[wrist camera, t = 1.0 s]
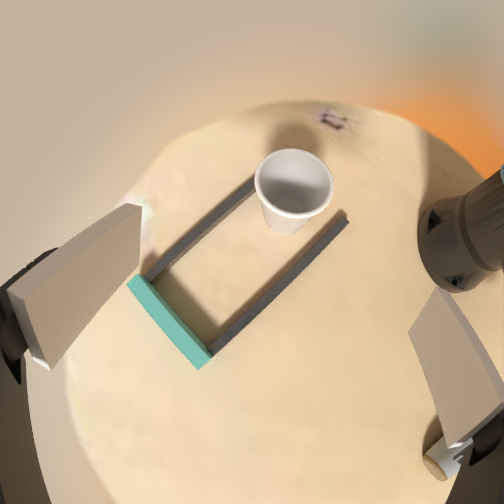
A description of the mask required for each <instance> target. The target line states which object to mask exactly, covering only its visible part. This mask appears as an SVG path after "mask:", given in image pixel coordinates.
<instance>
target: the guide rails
mask: <svg viewBox="0 0 504 504" xmlns="http://www.w3.org/2000/svg"><path fill="white" fill-rule="evenodd" d="M255 192H256V188H255V177H254V178H253V179H251V180H250V181H249V182H248V183H247V184H245V185H244V186H243V187H242V188H241V189H239V190H238V191H237V192H236V193H235V194H234V195H232V196H231V197H230V198H229V199H228V200H226V201H225V202H224V203H223V204H222V205H221V206H220V207H218V208H217V209H216V210H215V211H214V212H213V213H211V214H210V215H209V216H208V217H207V218H206V219H205V220H203V221H202V222H201V223H200V224H199V225H198V226H197V227H196V228H195V229H193V230H192V231H191V232H190V233H189V234H188V235H187V236H186V237H185V238H183V239H182V240H181V241H180V242H179V243H178V244H177V245H176V246H175V247H174V248H173V249H171V250H170V251H169V252H168V253H167V254H166V255H165V256H164V257H163V258H162V259H161V260H160V261H159V262H158V263H156V264H155V265H154V266H153V267H152V268H151V269H150V270H149V271H148V272H147V273H146V274H145V275H144V276H143V277H144V278H145V279H146V281H147V282H148V283H149V284H152V285H153V284H154V283H155V282H156V281H157V280H158V279H159V278H160V277H161V276H162V275H163V274H164V273H165V272H166V271H167V270H169V269H170V268H171V267H172V266H173V265H174V264H175V263H176V262H177V261H178V260H179V259H180V258H181V257H183V256H184V255H185V254H186V253H187V252H188V251H189V250H190V249H191V248H192V247H193V246H194V245H196V244H197V243H198V242H199V241H200V240H201V239H202V238H203V237H204V236H206V235H207V234H208V233H209V232H210V231H211V230H212V229H213V228H214V227H216V226H217V225H218V224H219V223H220V222H221V221H222V220H223V219H225V218H226V217H227V216H228V215H229V214H230V213H231V212H233V211H234V210H235V209H236V208H237V207H238V206H239V205H241V204H242V203H243V202H244V201H245V200H246V199H248V198H249V197H250V196H251V195H252V194H253V193H255ZM348 223H349V221H348V220H347V219H346V218H344V217H343V216H342V218H341V219H340V220H339V221H338V222H337V223H336V224H335V225H334V226H333V227H332V228H331V229H330V230H329V231H328V232H327V233H326V234H325V235H324V236H323V237H322V238H321V239H320V240H319V241H318V242H317V243H316V244H315V245H314V246H313V247H312V248H311V249H310V250H309V251H308V252H307V253H306V254H305V255H304V256H303V257H302V258H301V259H300V260H299V261H298V262H297V263H296V264H295V265H294V266H293V267H292V268H291V269H290V270H289V271H288V272H287V273H286V274H285V275H284V276H283V277H282V278H281V279H280V280H279V281H278V282H277V283H276V284H275V285H274V286H273V287H272V288H271V289H270V290H269V291H268V292H267V293H266V294H265V295H264V296H263V297H262V298H261V299H259V300H258V301H257V302H256V303H255V304H254V305H253V306H252V307H251V308H250V309H249V310H248V311H247V312H246V313H245V314H244V315H243V316H242V317H240V318H239V319H238V320H237V321H236V322H235V323H234V324H233V325H232V326H231V327H230V328H229V329H228V330H227V331H225V332H224V333H223V334H222V335H221V336H220V337H219V338H218V339H217V340H216V341H215V342H213V343H212V344H211V345H210V346H209V347H208V348H207V349H206V350H207V351H208V352H209V353H210V354H211V355H212V356H214V355H215V354H216V353H217V352H219V351H220V350H221V349H222V348H223V347H224V346H225V345H226V344H227V343H228V342H230V341H231V340H232V339H233V338H234V337H235V336H236V335H237V334H238V333H239V332H240V331H241V330H242V329H244V328H245V327H246V326H247V325H248V324H249V323H250V322H251V321H252V320H253V319H254V318H255V317H256V316H257V315H258V314H259V313H260V312H261V311H263V310H264V309H265V308H266V307H267V306H268V305H269V304H270V303H271V302H272V301H273V300H274V299H275V298H276V297H277V296H278V295H279V294H280V293H281V292H282V291H283V290H284V289H285V288H286V287H287V286H288V285H289V284H290V283H291V282H292V281H293V280H294V279H295V278H296V277H297V276H298V275H299V274H300V273H301V272H302V271H303V270H304V269H305V268H306V267H307V266H308V265H309V264H310V263H311V262H312V261H313V260H314V259H315V258H316V257H317V256H318V255H319V254H320V253H321V252H322V251H323V250H324V249H325V248H326V247H327V245H328V244H329V243H330V242H331V241H332V240H333V239H334V238H335V237H336V236H337V235H338V234H339V233H340V232H341V231H342V230H343V229H344V228H345V226H346V225H347V224H348Z"/></svg>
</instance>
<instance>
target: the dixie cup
mask: <svg viewBox="0 0 504 504" xmlns="http://www.w3.org/2000/svg"><path fill="white" fill-rule="evenodd" d="M255 188H256V191H257V194H258V196H259V198H260V201H261V206H262V210H263V214H264V219H265V222H266V224H267V226H268V227H269V228H270V229H271V230H272V231H273V232H275V233H277V234H280V235H291V234H294V233H296V232H298V231H299V230H300V229H301V228H302V227H303V226H304V225H305V224H306V223H307V222H308V221H309V220H310V219H311V218H312V217H313V216H314V215H316V214H318V213H319V212H321V211H322V210H323V209H324V208H325V207H326V206H327V205H328V204H329V202H330V200H331V198H332V196H333V191H334V182H333V177H332V174H331V172H330V170H329V168H328V167H327V166H326V164H325V163H324V162H323V161H322V160H321V159H320V158H318V157H317V156H316V155H314V154H312V153H310V152H308V151H305V150H302V149H296V148H285V149H280V150H277V151H274V152H272V153H270V154H269V155H267V156H266V157H265V158H264V159H263V160H262V161H261V162H260V164H259V165H258V167H257V169H256V173H255Z"/></svg>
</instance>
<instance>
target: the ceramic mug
mask: <svg viewBox="0 0 504 504" xmlns="http://www.w3.org/2000/svg"><path fill="white" fill-rule="evenodd" d="M472 442H473V440H472V437H471V438H470V439H469V440H467V441H466V442H465V443H463V444H462V445H461V446H458V447H453V448H448V449H447V445H446V441H445V437H444V435H443V436H442V437H441V438H440V439H439V440H438V441H437V442H436V443H435V444H434V445H433V446H432V447H431V448H430V449H429V450H428V451H427V452H426V453H425V454H424V456H423V462H424V464H425V466H426V467H427V469H428V470H429V471H430V472H431V474H432V475H433V476H434V477H435V478H437V479H438V480H440V481H446V480H448V479H449V478H451V477H452V476H453V475H455V474H456V473H457V472H458V471H459V469H460V466H461V464H459V463H458V462H457V461H458V460H459V459H460V458H462V457H463V456H460V457H458V458H457V459H455V460H453V457H454V456H455V455H456V454H458V453H459V452H460V451H462V450H463V449H464V448H466V447H467V446H468V445H470V444H471V443H472Z"/></svg>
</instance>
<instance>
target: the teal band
mask: <svg viewBox="0 0 504 504" xmlns="http://www.w3.org/2000/svg"><path fill="white" fill-rule="evenodd" d="M126 285H127V286H128V288H129V289H130V290H131V292H132V293H133V294H134V295H135V297H136V298H137V299H138V301H139V302H140V303H141V305H142V306H143V307H144V308H145V310H146V311H147V312H148V313H149V315H150V316H151V317H152V318H153V319H154V321H155V322H156V323H157V324H158V326H159V327H160V328H161V329H162V330H163V331H164V333H165V334H166V335H167V336H168V337H169V338H170V340H171V341H172V342H173V343H174V344H175V345H176V346H177V348H178V349H179V350H180V351H181V352H182V353H183V354H184V355H185V356H186V358H187V359H188V360H189V361H190V362H191V363H192V364H193V365H194V366H195V367H196V368H197V369H198V370H199V369H200V368H201V367H202V366H203V365H204V364H206V363H207V362H208V361H209V360H210V359H211V358H212V357H213V356H212V355H211V354H210V353H209V352H208V351H207V350H206V349H207V347H206V346H205V345H204V344H203V343H202V342H201V340H200V339H199V338H198V337H197V336H196V335H195V334H194V333H193V332H192V331H191V329H190V328H189V327H188V326H187V325H186V324H185V323H184V322H183V320H182V319H181V318H180V317H179V316H178V315H177V314H176V312H175V311H174V310H173V309H172V308H171V307H170V305H169V304H168V303H167V302H166V301H165V299H164V298H163V297H162V296H161V295H160V293H159V292H158V291H157V290H156V289H155V287H154V286H153V285H152V284H149V283H148V282H147V281H146V279H145V278H144V277H143V276H141V275H139V274H137V275H135V276H134V277H133V278H132V279H131V280H130V281H129V282H128V283H127V284H126Z"/></svg>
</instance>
